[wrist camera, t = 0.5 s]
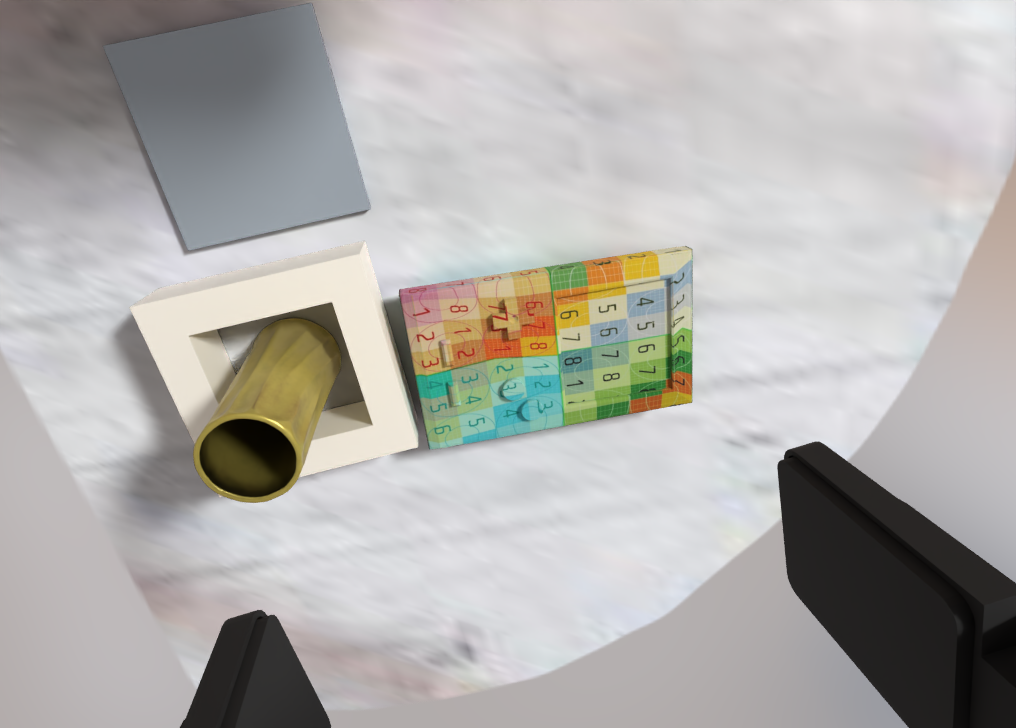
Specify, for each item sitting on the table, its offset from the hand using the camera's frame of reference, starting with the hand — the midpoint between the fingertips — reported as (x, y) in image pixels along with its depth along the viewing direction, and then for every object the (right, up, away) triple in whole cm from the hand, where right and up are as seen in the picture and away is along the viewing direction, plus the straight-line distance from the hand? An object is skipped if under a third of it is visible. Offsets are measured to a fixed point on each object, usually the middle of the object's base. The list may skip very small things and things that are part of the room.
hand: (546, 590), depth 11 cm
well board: (-16, +5, +33) cm, 37 cm away
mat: (-17, +18, +27) cm, 37 cm away
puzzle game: (+2, +6, +35) cm, 36 cm away
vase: (-16, +5, +33) cm, 37 cm away
